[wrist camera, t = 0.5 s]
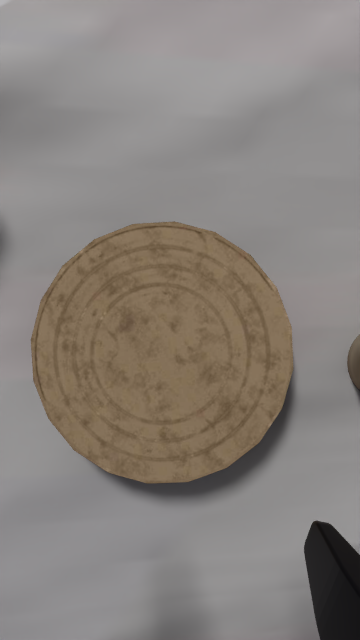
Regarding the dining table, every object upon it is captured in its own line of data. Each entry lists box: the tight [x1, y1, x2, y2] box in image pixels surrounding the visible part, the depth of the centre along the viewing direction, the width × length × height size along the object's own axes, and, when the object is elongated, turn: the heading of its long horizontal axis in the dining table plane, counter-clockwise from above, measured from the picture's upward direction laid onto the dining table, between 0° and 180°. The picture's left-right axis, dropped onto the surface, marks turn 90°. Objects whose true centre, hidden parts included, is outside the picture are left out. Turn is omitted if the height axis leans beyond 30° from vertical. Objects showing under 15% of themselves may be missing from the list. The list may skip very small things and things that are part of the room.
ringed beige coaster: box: [31, 222, 293, 484], centre depth 21 cm, size 16×16×3 cm
